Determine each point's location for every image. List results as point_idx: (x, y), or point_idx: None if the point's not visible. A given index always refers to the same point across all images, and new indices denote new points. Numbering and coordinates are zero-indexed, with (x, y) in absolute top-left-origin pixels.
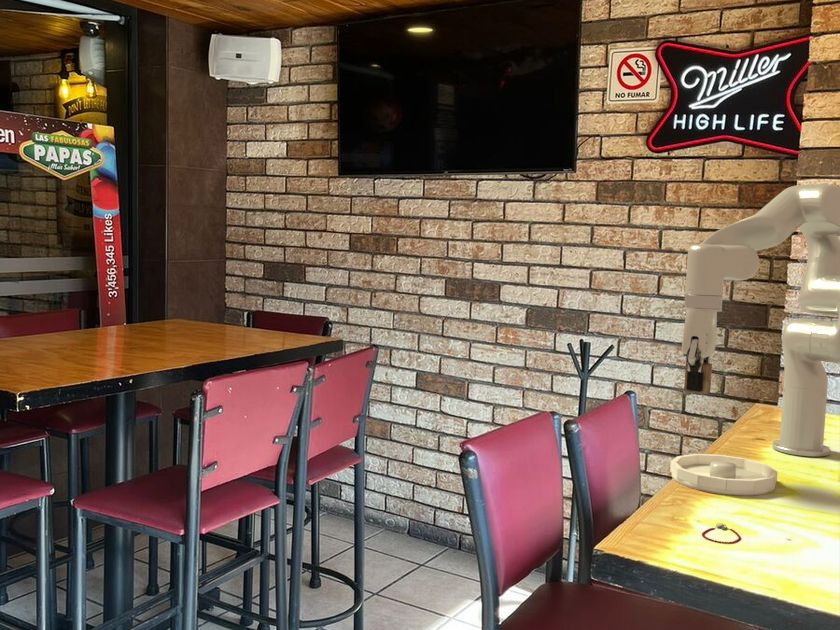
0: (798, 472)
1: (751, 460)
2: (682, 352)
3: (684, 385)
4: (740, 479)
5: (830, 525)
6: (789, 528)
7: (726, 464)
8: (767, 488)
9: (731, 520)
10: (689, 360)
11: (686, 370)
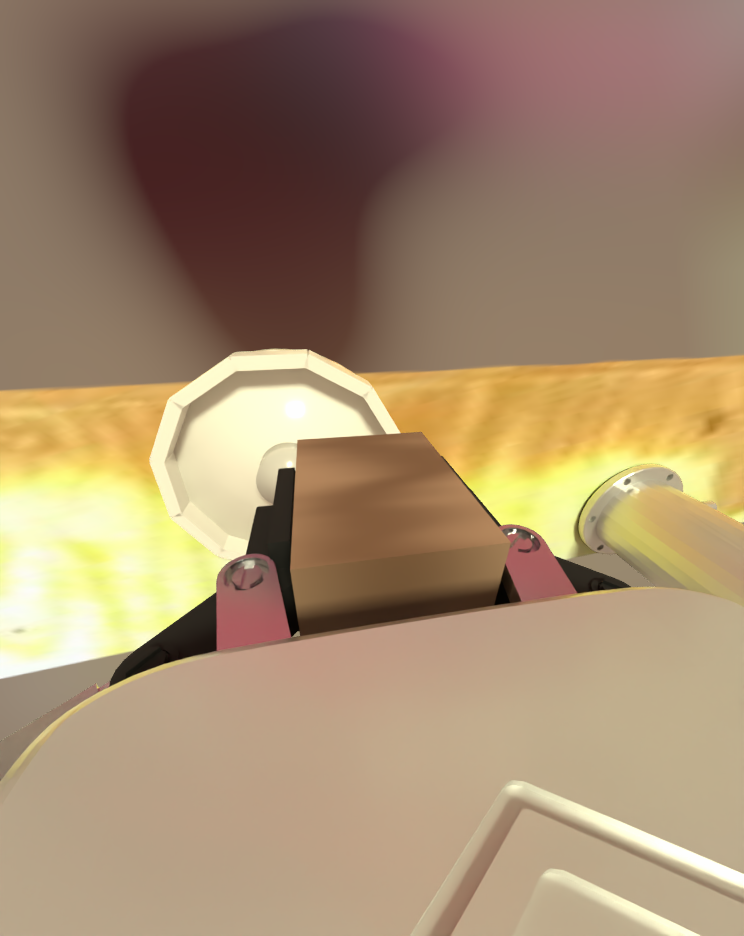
0: None
1: None
2: (7, 773)
3: (297, 456)
4: (201, 535)
5: None
6: (80, 617)
7: None
8: None
9: (17, 552)
10: (3, 750)
11: (294, 527)
